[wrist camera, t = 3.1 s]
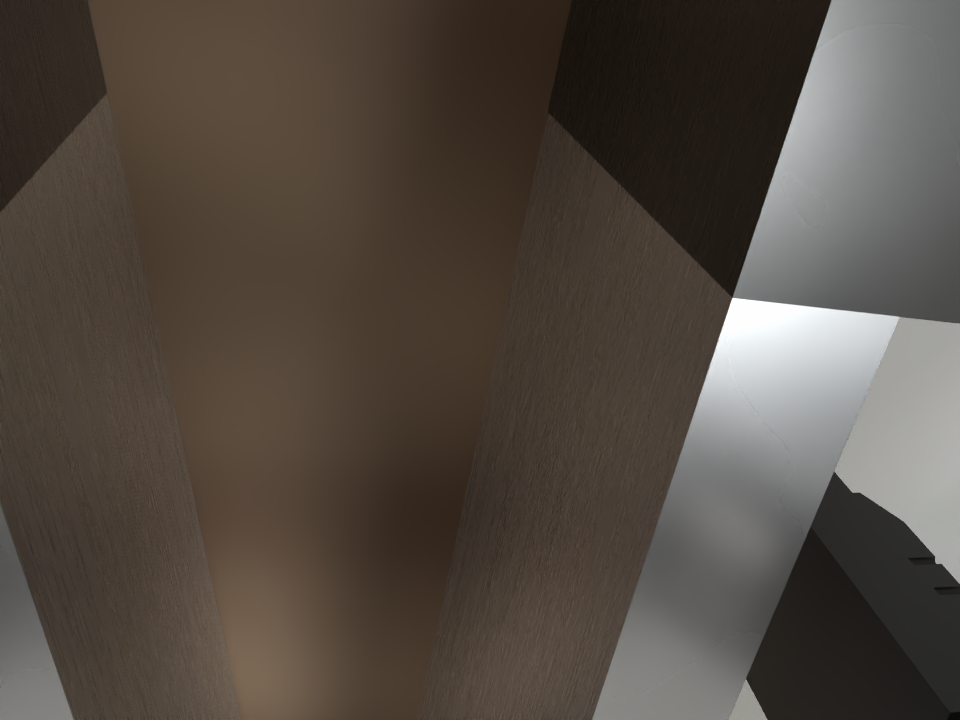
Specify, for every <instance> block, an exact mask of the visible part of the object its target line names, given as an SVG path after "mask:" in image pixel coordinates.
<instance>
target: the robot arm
mask: <svg viewBox="0 0 960 720" xmlns="http://www.w3.org/2000/svg"><path fill="white" fill-rule="evenodd" d="M746 679H747V681H748V683H749V685H750V687H751V689H752V691H753V693H754V695H755V696H756V698H757V700H758V702H759V704H760V706H761V708H762V710H763V712H764V713H765V715H766V717H767V719H768V720H960V584H959V583H958V582H957V581H956V580H955V579H954V577H953V576H952V575H951V574H950V573H949V572H948V571H947V570H946V568H945V567H944V566H943V565H942V564H936V563H935V556H934V555H933V554H932V553H931V552H930V551H929V549H928V548H927V547H926V546H925V545H924V544H923V543H922V542H921V541H920V539H919V538H918V537H917V536H916V535H915V534H914V533H913V532H912V531H911V529H910V528H909V527H908V526H907V525H906V524H905V523H904V522H903V521H902V520H900V519H899V518H897V517H896V516H894V515H893V514H891V513H890V512H888V511H887V510H885V509H884V508H882V507H881V506H879V505H878V504H876V503H875V502H873V501H872V500H870V499H869V498H867V497H866V496H864V495H863V494H861V493H852V492H851V491H850V490H849V488H848V487H847V486H846V485H845V484H844V483H843V481H842V480H841V479H840V478H839V477H838V476H837V474H836V473H835V472H834V473H833V475H832V477H831V480H830V482H829V484H828V487H827V489H826V491H825V494H824V496H823V498H822V501H821V503H820V505H819V508H818V510H817V512H816V515H815V517H814V520H813V522H812V524H811V527H810V529H809V531H808V534H807V536H806V538H805V541H804V543H803V545H802V548H801V550H800V552H799V555H798V557H797V560H796V562H795V564H794V567H793V569H792V571H791V574H790V576H789V578H788V581H787V583H786V585H785V588H784V590H783V592H782V595H781V597H780V600H779V602H778V604H777V607H776V609H775V611H774V614H773V616H772V618H771V621H770V623H769V625H768V628H767V630H766V632H765V635H764V637H763V639H762V642H761V644H760V647H759V649H758V651H757V654H756V656H755V658H754V661H753V663H752V665H751V668H750V670H749V672H748V675H747V677H746Z"/></svg>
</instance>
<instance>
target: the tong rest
mask: <svg viewBox="0 0 960 720" xmlns="http://www.w3.org/2000/svg"><path fill="white" fill-rule="evenodd" d="M571 1H572V0H88V4H89V9H90V13H91V18H92V23H93V27H94V32H95V37H96V41H97V46H98V51H99V55H100V60H101V65H102V69H103V74H104V79H105V83H106V88H107V93H108V97H109V102H110V107H111V111H112V116H113V121H114V125H115V130H116V135H117V139H118V144H119V149H120V153H121V158H122V163H123V167H124V172H125V177H126V181H127V186H128V191H129V195H130V200H131V205H132V209H133V214H134V219H135V223H136V228H137V233H138V237H139V242H140V247H141V251H142V256H143V261H144V265H145V270H146V275H147V280H148V284H149V289H150V294H151V298H152V303H153V308H154V312H155V317H156V322H157V326H158V331H159V336H160V340H161V345H162V350H163V354H164V359H165V364H166V368H167V373H168V378H169V382H170V387H171V392H172V396H173V401H174V406H175V410H176V415H177V420H178V424H179V429H180V434H181V438H182V443H183V448H184V452H185V457H186V462H187V466H188V471H189V476H190V480H191V485H192V490H193V494H194V499H195V504H196V508H197V513H198V518H199V522H200V527H201V532H202V536H203V541H204V546H205V550H206V555H207V560H208V564H209V569H210V574H211V578H212V583H213V588H214V592H215V597H216V602H217V607H218V611H219V616H220V621H221V625H222V630H223V635H224V639H225V644H226V649H227V653H228V658H229V663H230V667H231V672H232V677H233V681H234V686H235V691H236V695H237V700H238V705H239V709H240V714H241V719H242V720H417V719H418V714H419V710H420V705H421V700H422V696H423V691H424V686H425V682H426V677H427V672H428V668H429V663H430V658H431V654H432V649H433V644H434V640H435V635H436V630H437V626H438V621H439V616H440V612H441V607H442V602H443V598H444V593H445V588H446V584H447V579H448V574H449V570H450V565H451V560H452V556H453V551H454V546H455V542H456V537H457V532H458V528H459V523H460V518H461V514H462V509H463V504H464V500H465V495H466V490H467V486H468V481H469V476H470V472H471V467H472V462H473V458H474V453H475V448H476V444H477V439H478V434H479V430H480V425H481V420H482V416H483V411H484V406H485V402H486V397H487V392H488V388H489V383H490V378H491V374H492V369H493V364H494V360H495V355H496V350H497V346H498V341H499V336H500V332H501V327H502V322H503V318H504V313H505V308H506V304H507V299H508V294H509V290H510V285H511V280H512V276H513V271H514V266H515V262H516V257H517V252H518V248H519V243H520V238H521V234H522V229H523V224H524V220H525V215H526V210H527V206H528V201H529V196H530V192H531V187H532V182H533V178H534V173H535V169H536V164H537V159H538V155H539V150H540V145H541V141H542V136H543V131H544V127H545V122H546V117H547V113H548V108H549V103H550V99H551V94H552V89H553V85H554V80H555V75H556V71H557V66H558V61H559V57H560V52H561V47H562V43H563V38H564V33H565V29H566V24H567V19H568V15H569V10H570V5H571Z"/></svg>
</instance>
